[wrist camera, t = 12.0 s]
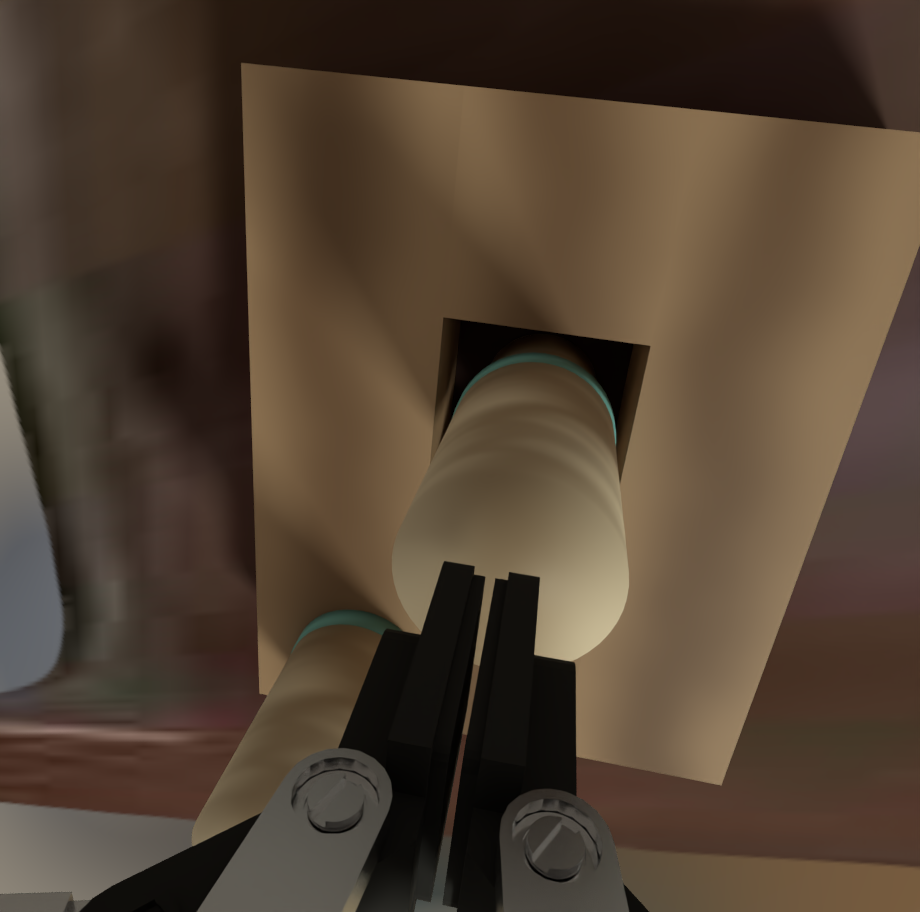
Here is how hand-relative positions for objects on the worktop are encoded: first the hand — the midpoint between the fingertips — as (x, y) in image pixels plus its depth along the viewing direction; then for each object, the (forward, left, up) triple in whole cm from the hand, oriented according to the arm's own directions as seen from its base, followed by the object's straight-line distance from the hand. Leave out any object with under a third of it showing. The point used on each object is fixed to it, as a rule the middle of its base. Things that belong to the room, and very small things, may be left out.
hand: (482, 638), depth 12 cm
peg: (0, 0, -14) cm, 14 cm away
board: (0, +2, -14) cm, 14 cm away
